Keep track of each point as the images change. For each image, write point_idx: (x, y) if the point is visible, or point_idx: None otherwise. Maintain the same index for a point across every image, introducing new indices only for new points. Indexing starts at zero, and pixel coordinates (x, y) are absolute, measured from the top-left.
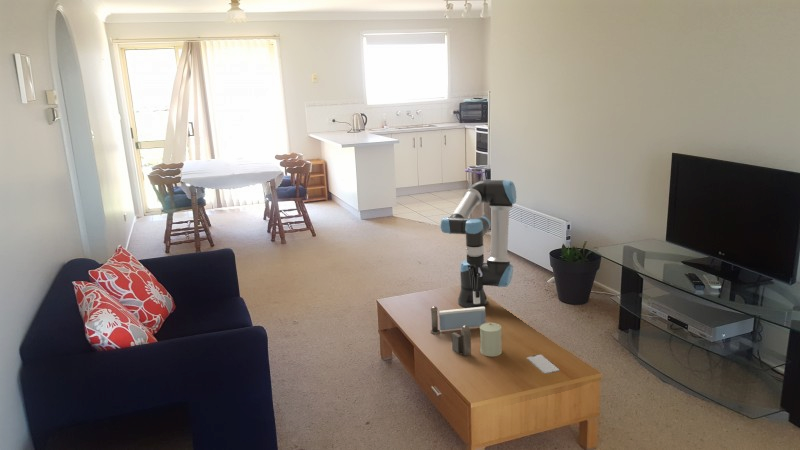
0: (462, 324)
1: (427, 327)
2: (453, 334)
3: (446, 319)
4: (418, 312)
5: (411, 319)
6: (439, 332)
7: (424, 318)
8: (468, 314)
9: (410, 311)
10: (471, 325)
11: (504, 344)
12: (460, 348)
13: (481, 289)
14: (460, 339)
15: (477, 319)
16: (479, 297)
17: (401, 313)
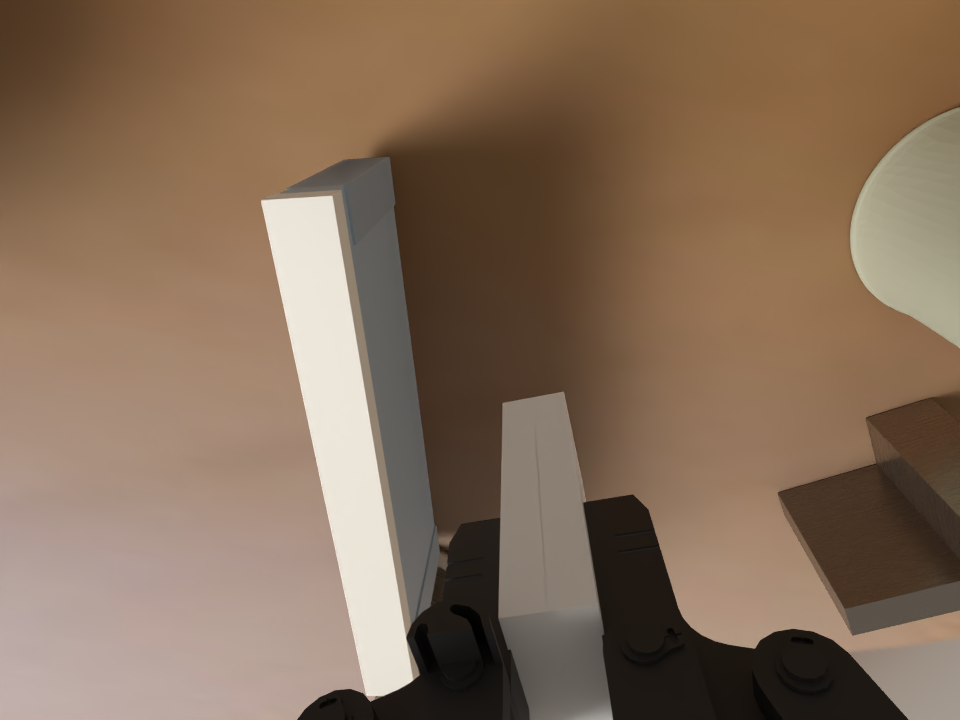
0: (411, 407)
1: (335, 607)
2: (886, 624)
3: (416, 580)
4: (52, 623)
5: (186, 675)
6: (447, 553)
7: (165, 603)
8: (380, 397)
9: (40, 664)
10: (403, 313)
11: (859, 28)
12: (902, 500)
13: (864, 687)
14: (956, 559)
15: (380, 267)
16: (576, 472)
17: (83, 712)
